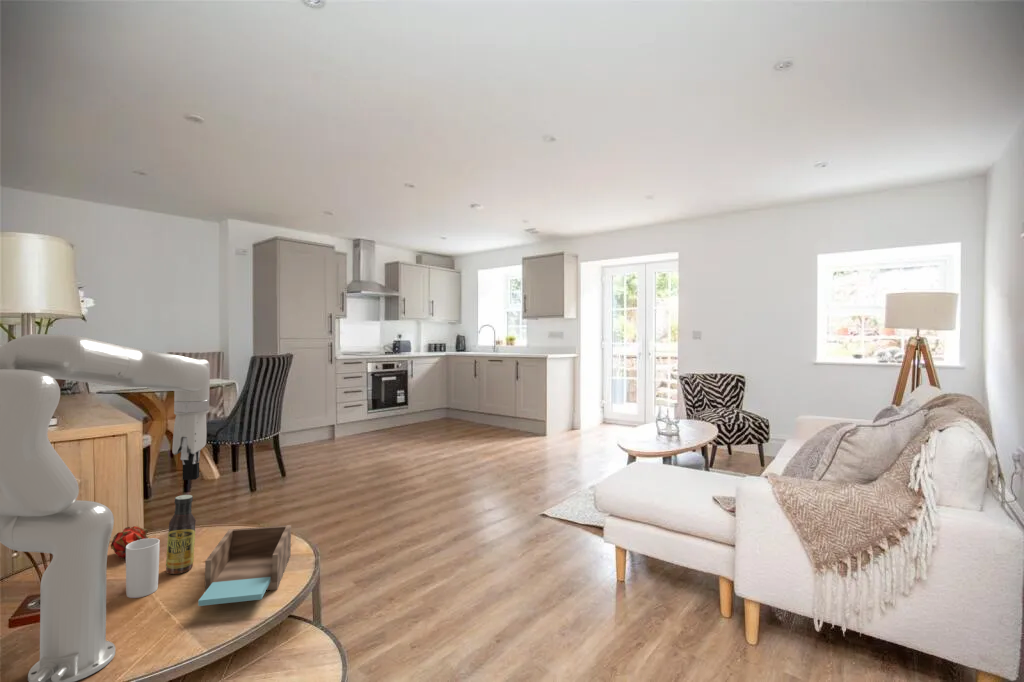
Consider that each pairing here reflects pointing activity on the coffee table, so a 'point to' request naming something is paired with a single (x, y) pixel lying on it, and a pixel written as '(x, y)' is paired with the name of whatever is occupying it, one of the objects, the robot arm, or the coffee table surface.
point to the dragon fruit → (127, 539)
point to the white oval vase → (142, 567)
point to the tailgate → (234, 591)
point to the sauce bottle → (181, 537)
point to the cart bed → (250, 555)
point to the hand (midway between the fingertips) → (190, 478)
